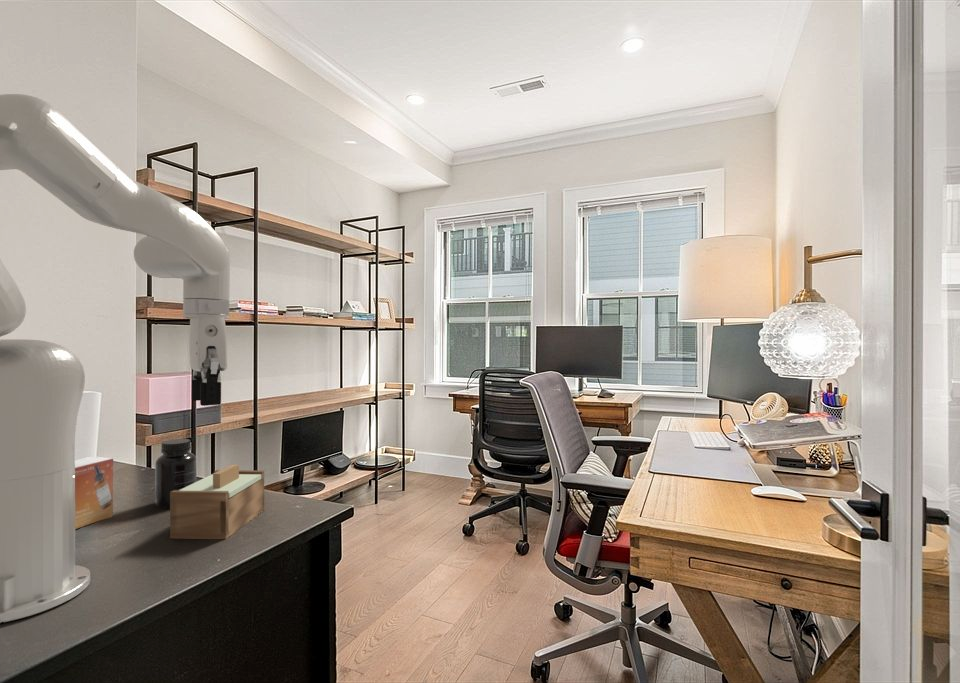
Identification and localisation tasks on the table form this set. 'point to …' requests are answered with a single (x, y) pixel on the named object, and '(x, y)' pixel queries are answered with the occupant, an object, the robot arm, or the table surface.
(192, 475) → the supplement bottle
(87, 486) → the small box
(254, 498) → the brown wooden box
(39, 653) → the table surface
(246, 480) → the lid
